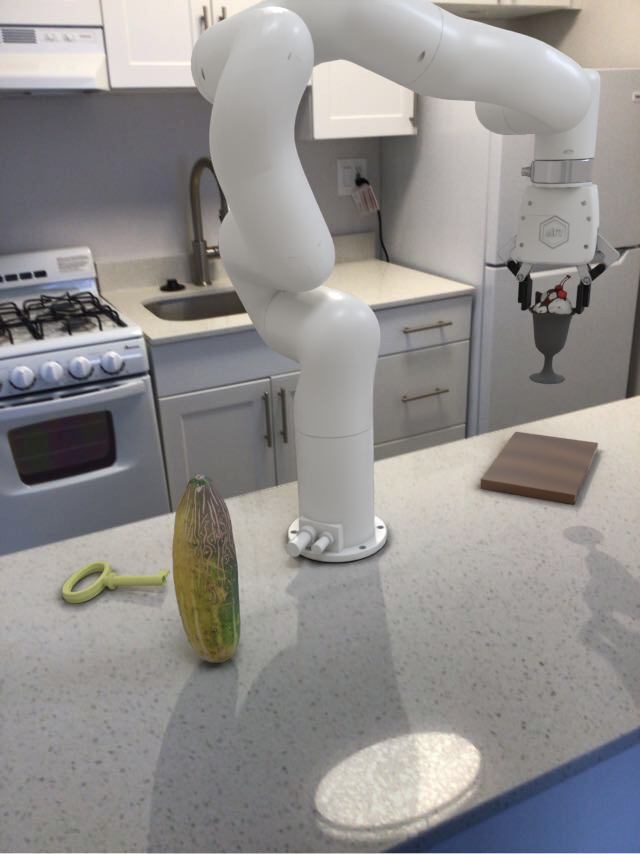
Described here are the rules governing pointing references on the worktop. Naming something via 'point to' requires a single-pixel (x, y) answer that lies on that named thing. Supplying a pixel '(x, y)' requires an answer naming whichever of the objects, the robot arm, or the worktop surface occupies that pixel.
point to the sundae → (551, 329)
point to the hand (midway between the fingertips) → (552, 309)
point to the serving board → (541, 467)
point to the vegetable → (206, 571)
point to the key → (107, 581)
